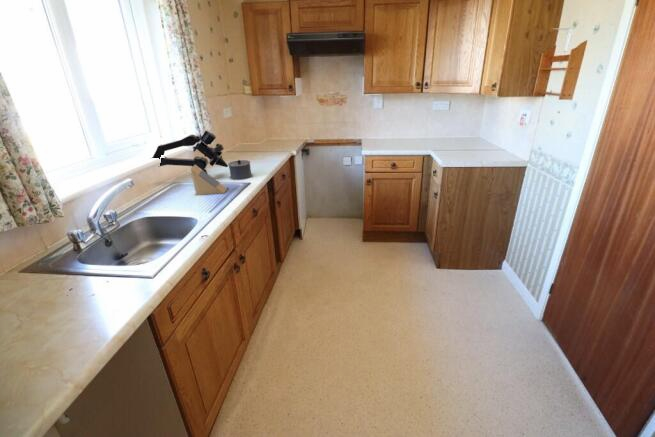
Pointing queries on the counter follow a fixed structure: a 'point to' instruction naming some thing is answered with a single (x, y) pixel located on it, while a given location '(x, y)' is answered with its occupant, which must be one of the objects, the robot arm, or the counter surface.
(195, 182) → the sandwich container
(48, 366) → the counter surface
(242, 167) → the stockpot
